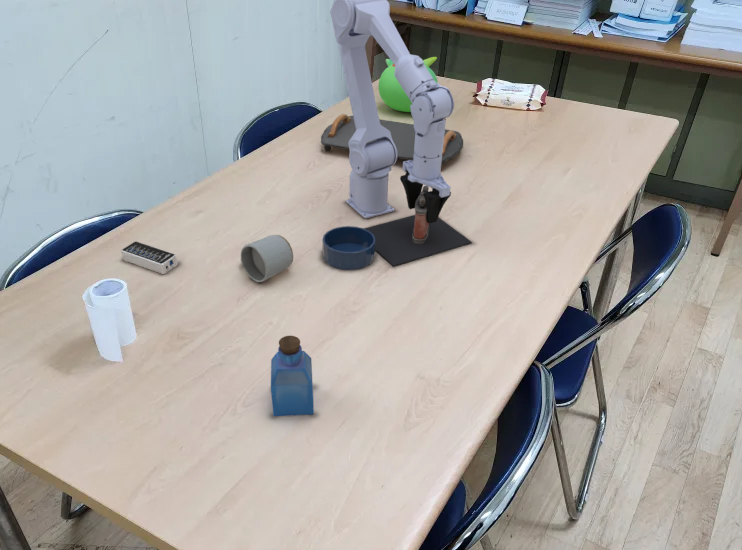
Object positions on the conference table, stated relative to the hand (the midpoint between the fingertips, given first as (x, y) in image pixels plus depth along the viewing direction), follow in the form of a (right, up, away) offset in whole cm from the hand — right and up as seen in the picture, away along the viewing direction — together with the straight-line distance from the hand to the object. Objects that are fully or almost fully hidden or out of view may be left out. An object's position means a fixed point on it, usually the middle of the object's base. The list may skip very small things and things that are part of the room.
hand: (422, 214), depth 138 cm
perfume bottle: (-24, -39, -36) cm, 58 cm away
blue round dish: (-16, -10, -3) cm, 19 cm away
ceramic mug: (-33, -14, -8) cm, 37 cm away
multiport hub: (-56, -12, -6) cm, 58 cm away
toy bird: (+2, +48, +62) cm, 78 cm away
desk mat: (-2, -4, +3) cm, 5 cm away
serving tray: (-4, +28, +39) cm, 49 cm away
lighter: (0, -4, +3) cm, 5 cm away
